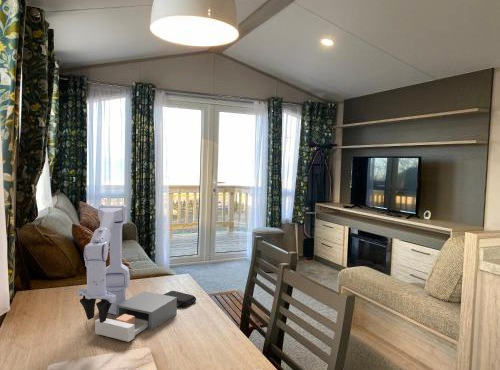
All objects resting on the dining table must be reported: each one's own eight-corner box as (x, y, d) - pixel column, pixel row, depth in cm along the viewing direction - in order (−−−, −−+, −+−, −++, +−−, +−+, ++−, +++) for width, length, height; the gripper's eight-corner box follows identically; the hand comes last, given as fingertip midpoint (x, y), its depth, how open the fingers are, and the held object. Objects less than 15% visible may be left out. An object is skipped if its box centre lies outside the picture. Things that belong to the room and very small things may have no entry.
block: (115, 329, 133) (115, 318, 133) (124, 324, 137) (124, 313, 137) (125, 332, 131) (125, 321, 131) (134, 327, 135) (134, 316, 135)
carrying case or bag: (155, 303, 162) (182, 310, 155) (155, 296, 161) (182, 303, 154) (171, 295, 171) (198, 302, 164) (171, 288, 171) (198, 295, 164)
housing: (116, 322, 141) (116, 304, 141) (143, 307, 156) (143, 291, 156) (151, 330, 135) (151, 312, 135) (176, 314, 150) (176, 297, 150)
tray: (95, 333, 131) (95, 320, 130) (122, 318, 143) (122, 306, 143) (128, 342, 125) (128, 328, 125) (153, 325, 138) (153, 313, 137)
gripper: (69, 279, 122) (70, 320, 123) (104, 286, 116) (105, 329, 117) (86, 273, 128) (87, 312, 129) (120, 279, 123) (120, 320, 124)
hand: (96, 320), depth 124 cm, fingers open, 5 cm apart
